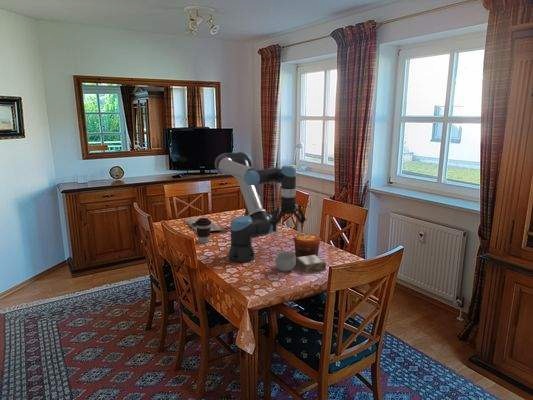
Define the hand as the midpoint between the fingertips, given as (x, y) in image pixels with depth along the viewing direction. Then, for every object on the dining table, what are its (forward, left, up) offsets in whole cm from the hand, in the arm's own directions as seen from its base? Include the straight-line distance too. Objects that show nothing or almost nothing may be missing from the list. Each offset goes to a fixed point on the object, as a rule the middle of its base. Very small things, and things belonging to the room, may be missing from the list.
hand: (287, 235), depth 194 cm
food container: (+17, +12, -18) cm, 28 cm away
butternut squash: (+4, +74, -17) cm, 76 cm away
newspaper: (-28, +89, -18) cm, 94 cm away
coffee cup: (-35, +55, -17) cm, 68 cm away
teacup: (-2, -2, -18) cm, 18 cm away
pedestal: (+11, -5, -17) cm, 21 cm away
